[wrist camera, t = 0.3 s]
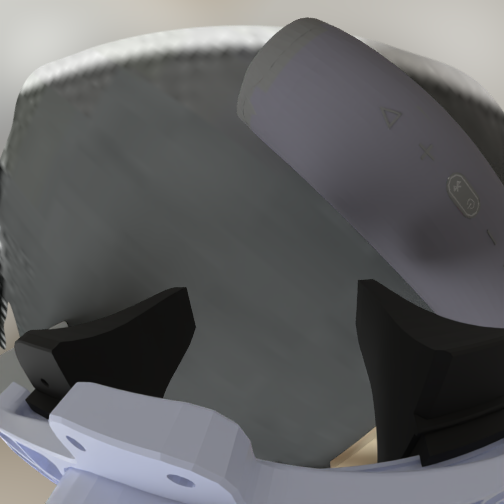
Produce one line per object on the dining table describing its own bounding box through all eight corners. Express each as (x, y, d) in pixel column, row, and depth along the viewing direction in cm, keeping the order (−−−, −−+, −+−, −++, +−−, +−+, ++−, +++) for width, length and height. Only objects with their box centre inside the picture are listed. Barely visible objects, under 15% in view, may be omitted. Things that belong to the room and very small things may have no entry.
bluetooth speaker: (500, 250, 18) (571, 277, 8) (439, 325, 20) (493, 387, 11) (323, 60, 18) (331, -18, 9) (247, 139, 21) (205, 97, 11)
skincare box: (63, 372, 30) (-6, 427, 15) (40, 335, 29) (-35, 381, 15) (92, 359, 28) (9, 426, 13) (65, 315, 27) (-28, 369, 13)
